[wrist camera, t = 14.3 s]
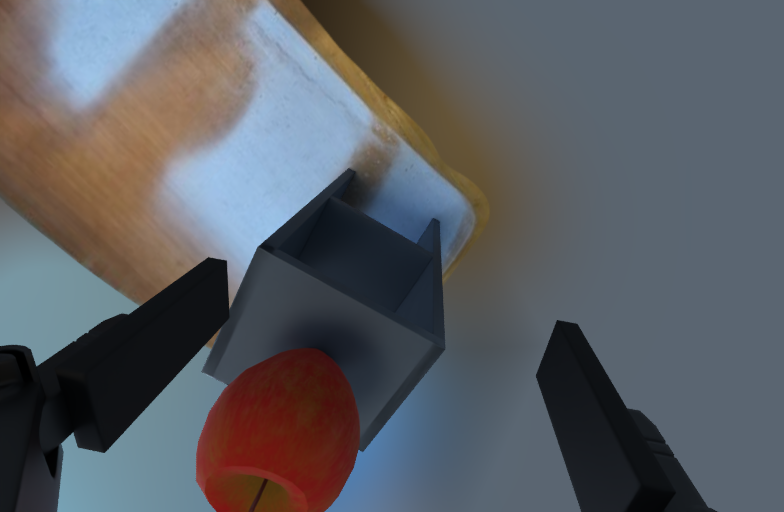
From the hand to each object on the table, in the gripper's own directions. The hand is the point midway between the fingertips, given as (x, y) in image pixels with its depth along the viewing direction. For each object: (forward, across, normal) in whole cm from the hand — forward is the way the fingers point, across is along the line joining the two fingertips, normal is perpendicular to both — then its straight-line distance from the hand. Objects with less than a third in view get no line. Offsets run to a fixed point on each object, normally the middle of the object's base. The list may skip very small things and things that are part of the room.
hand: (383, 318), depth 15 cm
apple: (+8, -5, -10) cm, 14 cm away
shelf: (+36, -5, -10) cm, 38 cm away
